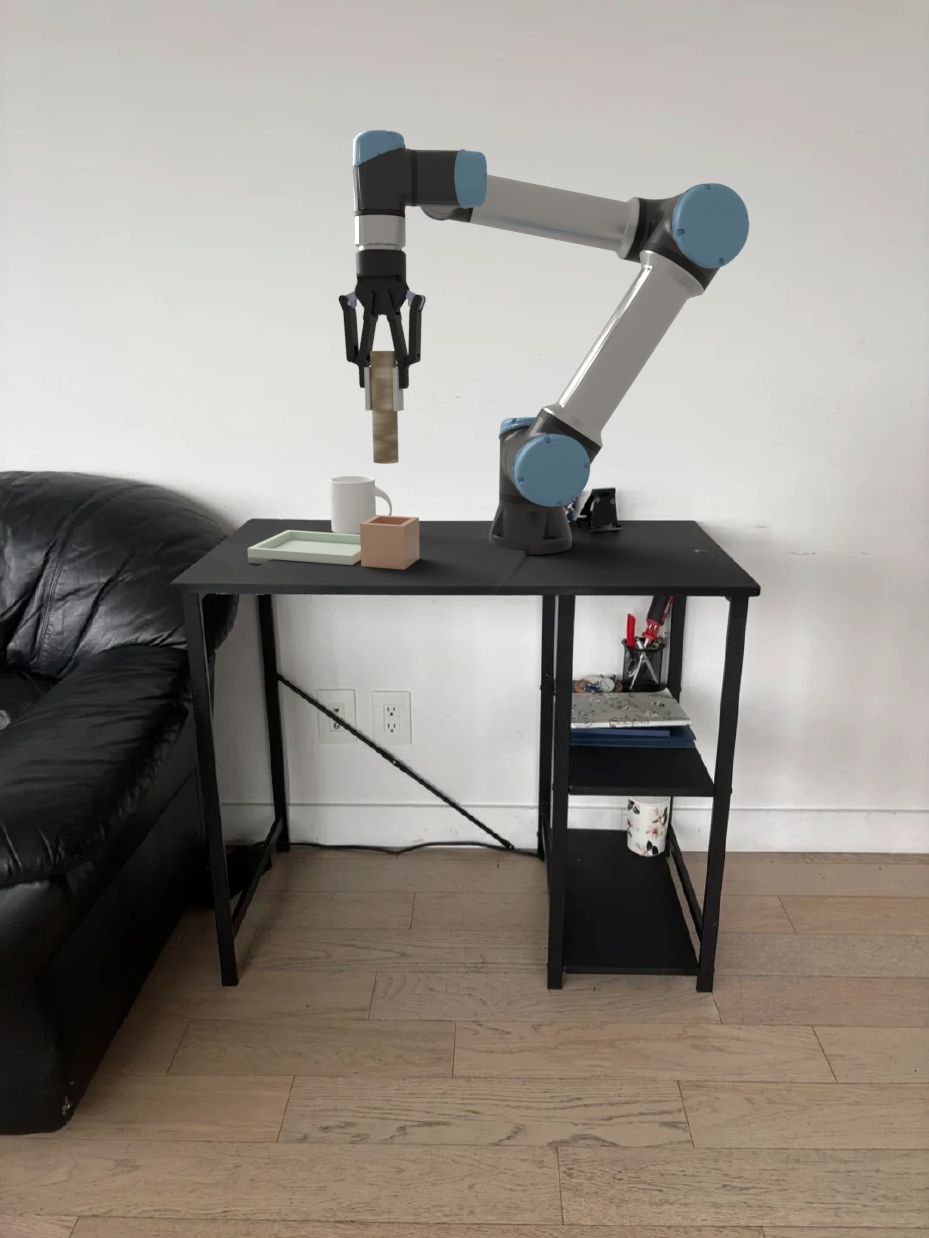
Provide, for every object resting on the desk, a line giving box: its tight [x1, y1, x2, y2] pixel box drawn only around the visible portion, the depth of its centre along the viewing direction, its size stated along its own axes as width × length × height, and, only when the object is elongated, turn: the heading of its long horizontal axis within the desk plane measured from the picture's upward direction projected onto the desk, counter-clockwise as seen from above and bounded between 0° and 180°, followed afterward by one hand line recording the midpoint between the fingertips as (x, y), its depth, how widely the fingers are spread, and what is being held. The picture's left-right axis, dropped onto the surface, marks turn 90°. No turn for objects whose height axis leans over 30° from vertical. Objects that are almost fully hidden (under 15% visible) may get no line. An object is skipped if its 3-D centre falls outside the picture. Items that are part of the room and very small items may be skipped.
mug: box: [329, 475, 393, 535], centre depth 168 cm, size 9×12×11 cm
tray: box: [246, 529, 361, 566], centre depth 153 cm, size 19×15×2 cm
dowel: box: [370, 350, 399, 465], centre depth 138 cm, size 4×4×17 cm
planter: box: [359, 514, 421, 570], centre depth 145 cm, size 8×8×8 cm
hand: (384, 409), depth 138 cm, fingers closed on dowel, 4 cm apart
